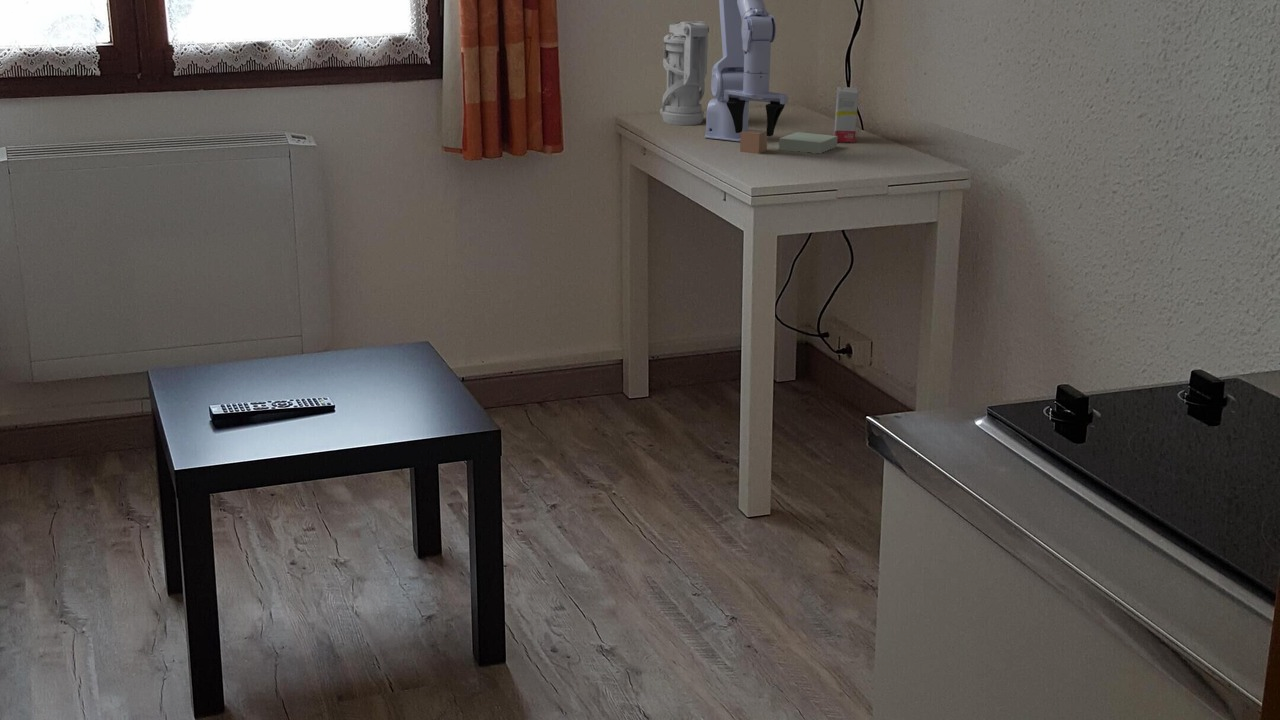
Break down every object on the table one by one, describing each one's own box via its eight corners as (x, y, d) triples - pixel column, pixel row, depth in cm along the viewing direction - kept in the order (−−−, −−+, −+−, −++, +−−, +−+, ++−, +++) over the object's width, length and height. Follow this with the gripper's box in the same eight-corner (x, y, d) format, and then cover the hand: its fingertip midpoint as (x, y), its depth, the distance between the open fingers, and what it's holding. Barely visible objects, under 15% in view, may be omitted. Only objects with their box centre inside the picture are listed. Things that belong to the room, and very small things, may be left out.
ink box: (855, 143, 315) (859, 92, 311) (834, 142, 315) (837, 91, 311) (854, 137, 323) (857, 86, 319) (833, 136, 323) (836, 86, 320)
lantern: (655, 119, 342) (656, 18, 334) (692, 117, 346) (694, 17, 338) (677, 128, 331) (680, 23, 323) (715, 125, 335) (718, 21, 327)
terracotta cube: (740, 152, 303) (740, 131, 302) (748, 149, 307) (749, 129, 305) (758, 154, 301) (759, 133, 300) (766, 151, 305) (767, 131, 303)
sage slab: (778, 149, 306) (779, 138, 305) (796, 142, 315) (796, 131, 314) (820, 153, 302) (820, 142, 301) (836, 147, 310) (837, 136, 309)
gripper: (719, 71, 298) (717, 133, 303) (779, 76, 292) (776, 139, 296) (732, 68, 304) (730, 129, 308) (792, 73, 297) (789, 135, 302)
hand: (754, 134), depth 303 cm, fingers open, 7 cm apart
